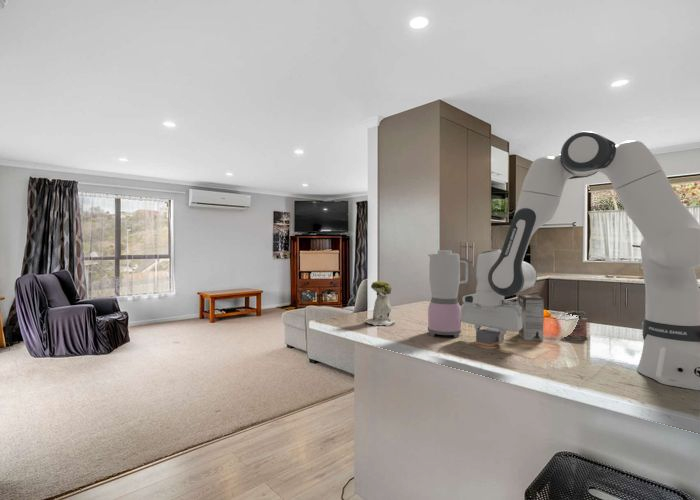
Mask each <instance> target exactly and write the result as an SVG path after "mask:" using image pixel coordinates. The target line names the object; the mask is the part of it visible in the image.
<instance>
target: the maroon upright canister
mask: <svg viewBox="0 0 700 500" xmlns="http://www.w3.org/2000/svg"><path fill="white" fill-rule="evenodd" d="M566 313H568V314H566ZM570 314H572V316H573V315H577V316H576V317H578V318H579V320H578V322H577V325H576V327H575V329H574V330H573V332H572V333H571V334H570V335H568V336H567V337H564V338H563V340H573V341H575V340H576V341H587V340H588V336H587V335H588V333H587V331H588V330H587V329H588V318H586V317H582V316H586V312H585V311H575V310H571V311H565V315H569V316H570Z"/></svg>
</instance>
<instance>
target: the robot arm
mask: <svg viewBox="0 0 700 500" xmlns="http://www.w3.org/2000/svg"><path fill="white" fill-rule="evenodd" d="M598 172H599V173H601V174H604V175H605V176H606V177H607V179H608V180H609V181H610V183H611V186H612V188H613V190H614V192H615V193H616V195H617V197H618V199H619V201H620V204H621V205H622V207H623V209H624V211H625V212H626V215H627V216H628V218H629V219H630V220H631V221H632V222H633V224H634V226H635V227H636V228H637V230H638V231H639V233H640V234H641V235H642V237H643V239H641V242H640V255H641V265H642V274H643V281H644V288H645V304H644V305H645V306H644V308H645V309H644V310H645V312H644V313H645V318H643V320H642V321H643V322H642V327H641V328H642V329H641V330H642V334H641V336H642V339H643V346H642V351H641V356H640V359H639V363H638V365H637V367H636V371H637V372H638V373H640V374H641V375H644V376H645V377H647V378H651V379H653V380H655V381H656V382H658V383H660V384H661V385H666V386H672V387H673V386H674V387H678V388H685V389H688V390H689V389H690V390H695V391H700V286H699V282H698V279H697V273H696V268H698V267H700V223H699V221H698V220H697V219H696V218H695V217H694V215H693V214H692V213H691V212H690V211H689V209H688V208H687V207H686V206H685V205H684V203H683V202H682V201H681V199H680V198H679V197H678V195H677V193H676V191H675V189H674V188H673V186H672V184H671V182H670V180H669V178H668V177H667V175H666V173H665V171H664V169H663V167H662V166H661V164H660V162H659V161H658V159H657V158H656V157H655V155H654V154H653V152H651V150H650V149H649V148H648V147H647V145H645V143H643V142H642V141H639V140H635V139H634V140H625V141H623V142H620V143H617V144H616V143H615V142H614V141H613V140H611V139H609V138H606V137H605V136H603V135H601V134H600V133H597V132H594V131H587V130H586V131H585V130H584V131H580V132H579V131H578V132H577V133H574V134H573V135H571V136H570V137H569V138H567V139H566V140H565V142H564V143H563V145H562V147H561V149H560V154H558V155H556V156H540V157H538V158H535V160H533V162H531V165H530V166H529V168H528V170H527V173H526V175H525V178H524V180H523V183H522V187H521V189H520V192H519V197H518V200H517V205H516V209H515V212H514V215H513V218H512V221H511V223H510V225H509V228H508V232H507V234H506V237H505V240H504V243H503V245H502V249H494V250H493V249H492V250H491V249H490V250H485V251H483V252H480V253H479V254H478V256H477V260H476V270H475V271H476V274H475V275H476V276H475V278H476V281H477V283H476V289H475V293H471V294H467V295H464V296H462V298H461V299H462V304H461V305H460V307H461V323H464V324H468V325H474V330H475V332H476V331H479V330H482V327H486V328H489V327H491V328H496V329H499V332H501V333H500V335H499V336H497V337H496V342H499V343H502V342H503V336H504V337H505V335H506V334H507V331H508V332H514V333H515V332H519V331H520V330H521V329H522V317H521V314H522V307H521V305H520V304H519V302H517V301H512V300H511V301H510V300H505V297H511V296H513V295H515V294H517V293H520V292H521V293H522V292H523V291H526V290H529V289H530V288H532V287H533V286H534V285H535V284H536V282H537V278H538V275H537V271H536V268H535V267H534V266H533V265H532V264H531V263H529V262H527V261H524V258H525V257H526V256H525V255H526V252H527V250H528V247H529V245H530V241H531V239H532V237H533V235H534V234H535V232H537V230H538V229H539V228H541V227H542V226H543V225H545V224H546V223H549V222H550V221H551V220H552V219H553V218H554V215H555V214H556V212H557V209H558V207H559V205H560V201H561V197H562V194H563V191H564V188H565V185H566V183H567V181H568V180H572V179H581V178H588V177H591V176H594V175H596V174H597V173H598Z"/></svg>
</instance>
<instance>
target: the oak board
mask: <svg viewBox="0 0 700 500" xmlns="http://www.w3.org/2000/svg"><path fill="white" fill-rule="evenodd" d="M464 345H469V346H474V347H477V348H482V349H487V350H491V351H495V352H499V353H505V354H510V355H513V356H519V357H522V358H527V359H531V360H535V359H536V358H538V357H541V356H542V355H544V354H546V353H549V352H550V351H552V349H551V348H550V349H549V348H546V347H540V346H536V345H529V344H526V343H525V344H524V343H520V342H516V341H509V340H505V339H504V342H502V343H499V344H496V345H493V346H491V347H490V346H486V345H481V344H477V343H476V339H474V340H470V341H468V342H465V343H464Z"/></svg>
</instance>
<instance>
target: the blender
mask: <svg viewBox="0 0 700 500" xmlns="http://www.w3.org/2000/svg"><path fill="white" fill-rule="evenodd" d="M452 252H453V251H452V250H451V249H450V250H448V249H447V250H442V249H441V250H440V249H438V250H437V253H430V254H427V256H428V257H429V265H428V266H429V267H428V268H429V269H428V270H429V273H428V274H429V276H428V277H429V286H430V292H431V293H430V294H431V299H430V302H429V304H428V309H427V319H428V320H427V321H428V322H427V325H428V326H427V332H429V336H431V337H435V335H439V336H440V335H441V336H453V338H454V339H455V338H459V335H460V334H461V332H462V327H461V326H462V321H461V305H460V303H459V300H458V295H459V288H460V286H468V284H470V283H471V261H470V260H469V259H467V258H464V257H460V254H459V253H452ZM461 263H463V264H465V277H464V280H461Z"/></svg>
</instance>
